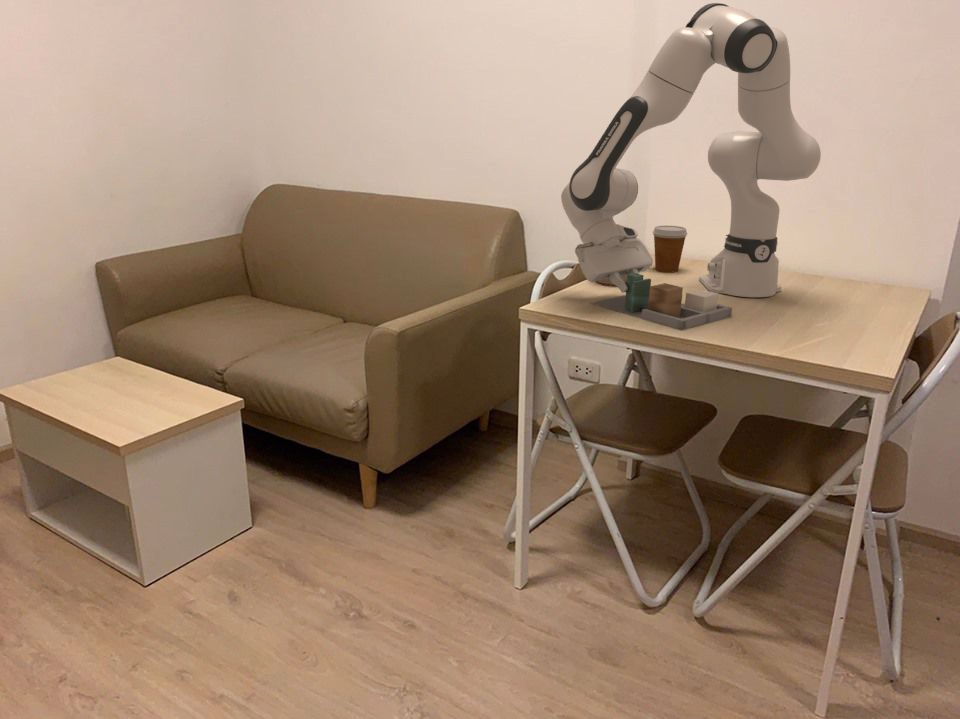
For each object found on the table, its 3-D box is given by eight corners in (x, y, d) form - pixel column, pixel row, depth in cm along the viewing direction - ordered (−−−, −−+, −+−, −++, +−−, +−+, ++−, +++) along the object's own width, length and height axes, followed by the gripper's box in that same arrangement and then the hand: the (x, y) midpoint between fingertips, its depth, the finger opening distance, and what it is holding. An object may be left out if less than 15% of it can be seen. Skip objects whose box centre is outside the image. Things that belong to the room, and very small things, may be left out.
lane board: (588, 305, 182) (589, 295, 181) (638, 294, 192) (639, 284, 191) (681, 332, 162) (682, 321, 161) (731, 318, 172) (732, 307, 171)
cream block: (683, 314, 173) (686, 292, 172) (697, 310, 176) (699, 289, 175) (702, 319, 170) (704, 297, 168) (716, 315, 172) (718, 293, 171)
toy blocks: (620, 309, 176) (622, 275, 174) (636, 305, 180) (639, 272, 177) (664, 322, 167) (667, 286, 164) (680, 318, 170) (684, 282, 168)
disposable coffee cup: (687, 274, 214) (692, 231, 210) (653, 273, 214) (657, 230, 210) (678, 266, 223) (682, 225, 219) (646, 266, 223) (649, 225, 219)
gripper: (579, 237, 172) (609, 288, 168) (640, 228, 184) (669, 276, 180) (564, 253, 176) (593, 304, 172) (624, 244, 188) (652, 290, 184)
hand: (632, 289), depth 176 cm, fingers closed on toy blocks, 3 cm apart
